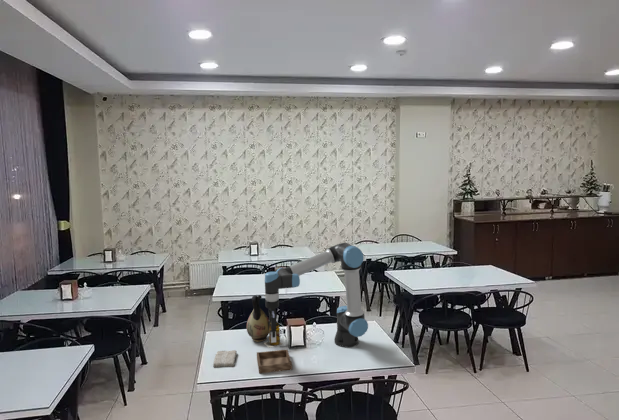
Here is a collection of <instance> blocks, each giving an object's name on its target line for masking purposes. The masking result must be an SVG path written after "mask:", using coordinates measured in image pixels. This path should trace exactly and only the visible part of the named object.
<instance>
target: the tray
mask: <svg viewBox="0 0 619 420" xmlns="http://www.w3.org/2000/svg"><path fill="white" fill-rule="evenodd" d="M256 362H257V368H258V374H266V373H267V374H268V373H277V372H285V371H293V363H292V360H291V356H290V353H289V350H288V349H278V350H269V351H267V350H266V351H258V352H256Z"/></svg>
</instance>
